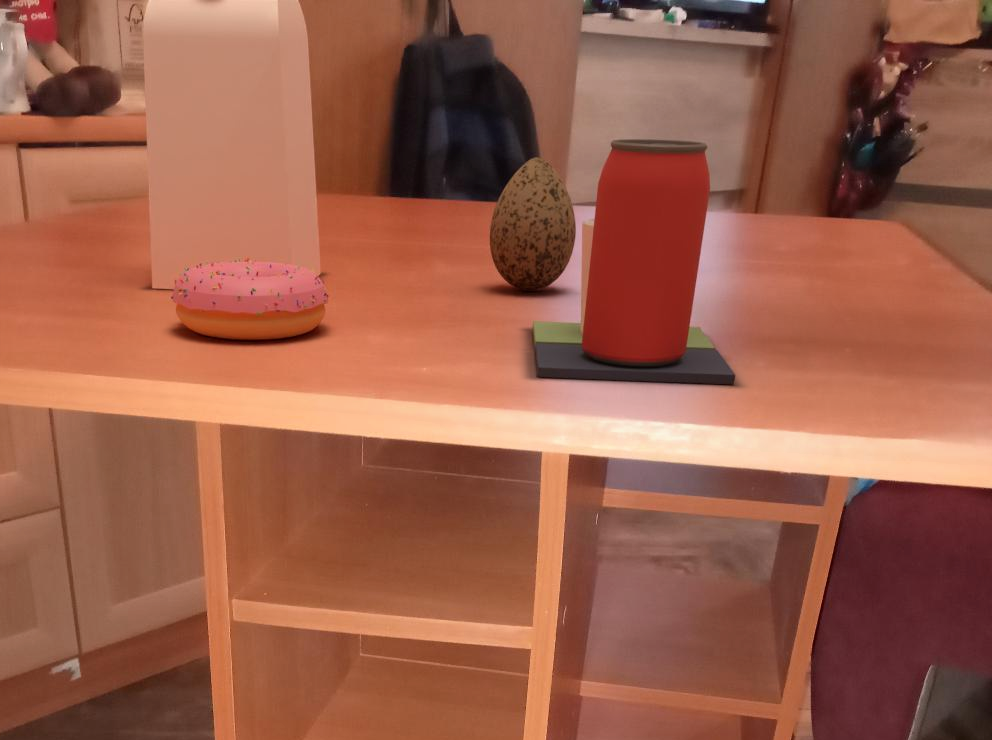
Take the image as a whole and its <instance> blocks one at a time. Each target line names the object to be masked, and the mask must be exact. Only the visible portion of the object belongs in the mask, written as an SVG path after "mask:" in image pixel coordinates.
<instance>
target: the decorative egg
mask: <svg viewBox="0 0 992 740" xmlns="http://www.w3.org/2000/svg"><path fill="white" fill-rule="evenodd" d="M572 202H573V201H572V199H571V196H570V194H569V192H568V189H567V187H566V185H565V183H564V181H563V180H562V177H561V176H560V175H559V173H558V172H557V171H556V169H555V167H553V165H551V164H550V162H549V161H547V160H546V159H545V158H542V157H538V156H536V157H533V158H530V159H529V160H527V161H526V162H525V163H524V164H522V165H521V166H520V167H519V169H518V170H517V171H516V172H515V173H514V174H513V175H512V176H511V178H510V179H509V181H508V182H507V184H506V185H505V187H504V189H503V190H502V192H501V194H500V195H499V197H498V200H497V201H496V204H495V207H494V209H493V213H492V217H491V221H490V226H489V227H490V229H489V249H490V254H491V258H492V261H493V264H494V267H495V268H496V270H497V272H498V274H499V275H500V277H501V278H502V279H503V280H504V281H505V282H506V283H507V284H509V285H510V286H512V287H514V288H515V289H518V290H519V291H525V292H535V291H539V290H543V289H545V288H547V287H548V286H550V285H552V284H553V283H554V282H556V281H557V280H558V279H559V278H560V277H561V276H562V274H563V273H564V272H565V270H566V269H567V266H568V265H569V262H570V261H571V257H572V256H573V251H574V247H575V242H576V235H577V227H576V226H577V225H576V223H577V222H576V217H575V216H576V215H575V211H574V207H573V203H572Z"/></svg>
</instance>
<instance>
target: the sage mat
mask: <svg viewBox="0 0 992 740" xmlns="http://www.w3.org/2000/svg"><path fill="white" fill-rule="evenodd" d="M580 330H581V322H565V321H564V322H563V321H535V320H533V322H532V337H533V338H532V339H533V347H534V348H533V349H535V345H536V344H561V345H582V336H583V334H582V333H581V331H580ZM686 349H697V350H716V347H715V346H714V344H713V343H712V341H711V340H710V339H709V337H708V336H707V335H706V334H705V332H704V330H702V328H701V327H700V326H690V327H689V334H688V340H687V347H686Z"/></svg>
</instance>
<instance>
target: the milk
mask: <svg viewBox="0 0 992 740" xmlns="http://www.w3.org/2000/svg"><path fill="white" fill-rule="evenodd" d="M143 16H144V17H143V24H142V45H143V46H142V47H143V48H142V49H143V73H144V75H143V77H144V99H145V100H144V101H145V103H144V104H145V122H146V123H145V127H146V129H145V130H146V132H145V133H146V156H147V158H146V159H147V180H148V181H147V182H148V183H147V184H148V209H149V210H148V211H149V235H150V237H149V238H150V264H151V265H150V266H151V267H150V268H151V289H157V290H158V289H160V290H174V287H175V280H176V282H177V280H178V278H179V275H180V273H181V275H182V274H183V273H184V272H185V271H186V270H185V268H186V269H188V268H189V269H191V268H193V267H196V265H197V266H200V263H201V265H205V264H206V262H208V264H211V263H217V262H218V263H222V262H230V260H232V261H233V262H235V260H236V262H239V259H240V262H245V260H246V261H247V259H248V258H249V260H248V261H251V262H255V261H256V262H273V263H284V264H291V265H296V266H300V267H303V268H307V269H308V270H312V269H314V271H313V272H315V273H316V275H317V276H318V277H319V276H320V275H321V273H322V271H321V252H320V233H319V217H318V216H319V215H318V201H317V200H318V198H317V181H316V179H317V178H316V162H315V159H316V158H315V143H314V129H313V128H314V123H313V108H312V107H313V105H312V90H311V89H312V87H311V69H310V53H309V51H310V50H309V37H308V29H307V23H306V19H305V15H304V12H303V10H302V6H301V3H300V1H299V0H148V1H147V3H146V8H145V12H144V15H143Z"/></svg>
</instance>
